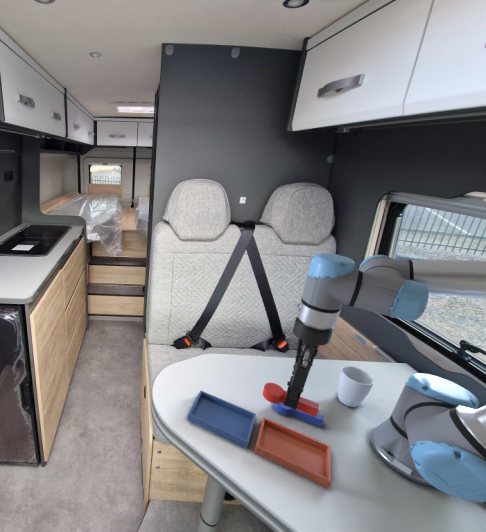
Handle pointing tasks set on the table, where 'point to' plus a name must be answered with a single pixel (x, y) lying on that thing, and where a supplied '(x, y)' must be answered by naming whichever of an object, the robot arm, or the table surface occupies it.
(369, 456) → the table surface
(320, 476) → the red tray
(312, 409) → the red spoon
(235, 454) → the table surface
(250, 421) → the blue tray
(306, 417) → the blue spoon
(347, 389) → the cup
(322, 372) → the table surface
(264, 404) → the table surface
